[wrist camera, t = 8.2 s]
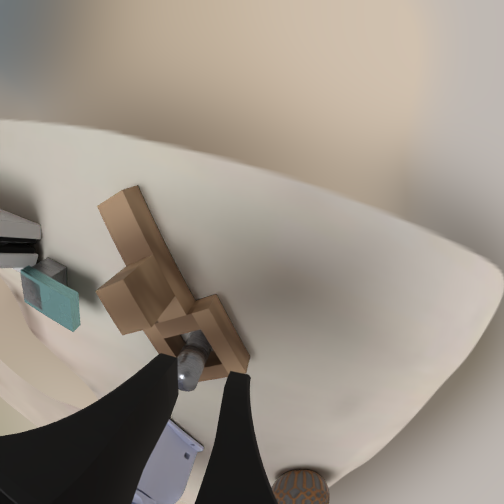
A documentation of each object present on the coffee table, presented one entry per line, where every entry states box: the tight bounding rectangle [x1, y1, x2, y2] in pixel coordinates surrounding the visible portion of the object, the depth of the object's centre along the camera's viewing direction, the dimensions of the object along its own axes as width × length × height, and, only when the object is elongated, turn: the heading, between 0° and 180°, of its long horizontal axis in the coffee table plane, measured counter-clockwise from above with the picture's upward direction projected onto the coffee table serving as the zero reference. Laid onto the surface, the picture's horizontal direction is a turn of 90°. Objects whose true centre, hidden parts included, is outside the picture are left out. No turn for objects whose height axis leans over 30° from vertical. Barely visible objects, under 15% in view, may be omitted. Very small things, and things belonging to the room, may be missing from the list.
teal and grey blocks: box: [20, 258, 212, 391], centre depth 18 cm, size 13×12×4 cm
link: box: [96, 185, 250, 382], centre depth 16 cm, size 14×5×5 cm, turn 24°
